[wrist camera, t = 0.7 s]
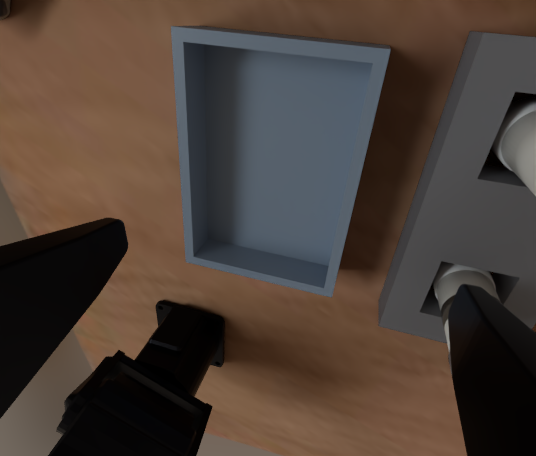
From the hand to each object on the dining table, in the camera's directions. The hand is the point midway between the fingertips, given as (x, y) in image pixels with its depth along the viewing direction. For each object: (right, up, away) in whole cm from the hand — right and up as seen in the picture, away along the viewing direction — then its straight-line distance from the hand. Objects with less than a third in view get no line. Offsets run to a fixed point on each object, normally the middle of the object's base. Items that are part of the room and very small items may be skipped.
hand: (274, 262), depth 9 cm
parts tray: (0, +5, +13) cm, 14 cm away
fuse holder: (+12, +2, +11) cm, 16 cm away
